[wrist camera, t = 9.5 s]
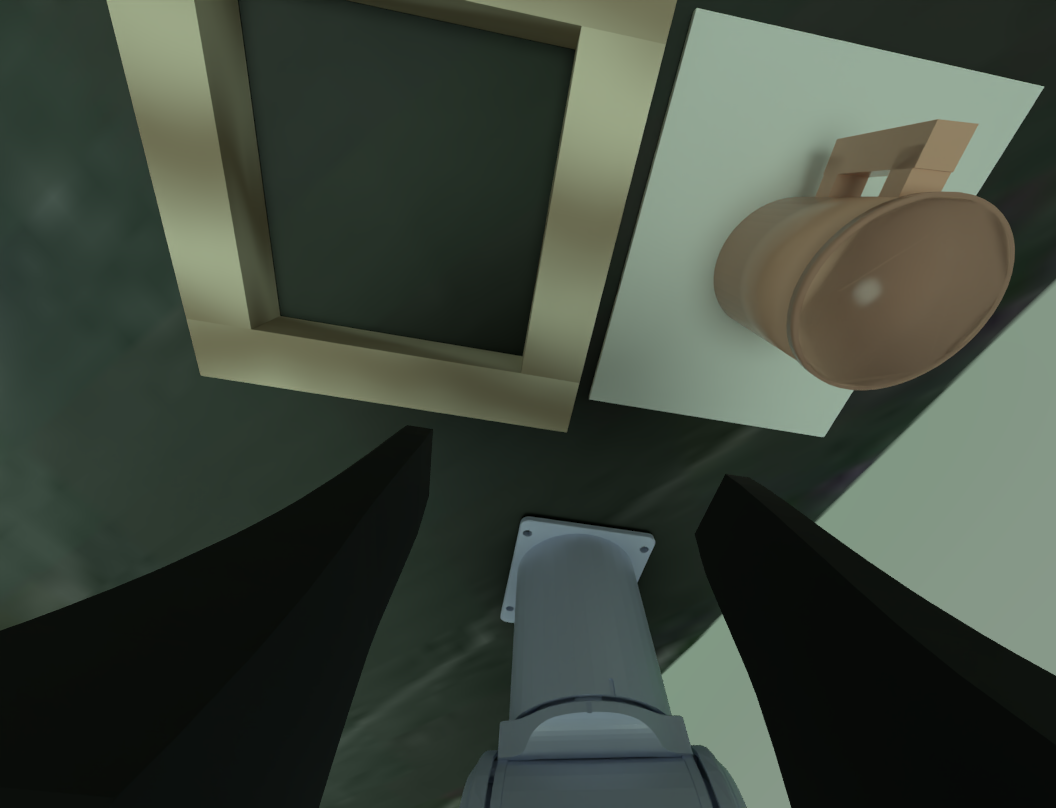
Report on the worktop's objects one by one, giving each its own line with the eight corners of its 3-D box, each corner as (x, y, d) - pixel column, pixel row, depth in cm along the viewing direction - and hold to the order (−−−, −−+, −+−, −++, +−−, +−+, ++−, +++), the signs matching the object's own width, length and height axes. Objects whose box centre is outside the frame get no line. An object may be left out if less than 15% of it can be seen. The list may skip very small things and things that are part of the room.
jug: (694, 323, 17) (765, 381, 12) (751, 137, 14) (884, 100, 8) (812, 335, 17) (935, 398, 12) (896, 154, 14) (1118, 126, 8)
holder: (564, 411, 19) (566, 432, 18) (232, 358, 18) (200, 375, 17) (673, -39, 12) (697, -81, 10) (126, -167, 11) (47, -238, 9)
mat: (820, 434, 20) (824, 437, 19) (588, 396, 19) (589, 399, 19) (1034, 88, 13) (1044, 86, 13) (693, 12, 12) (696, 7, 12)
